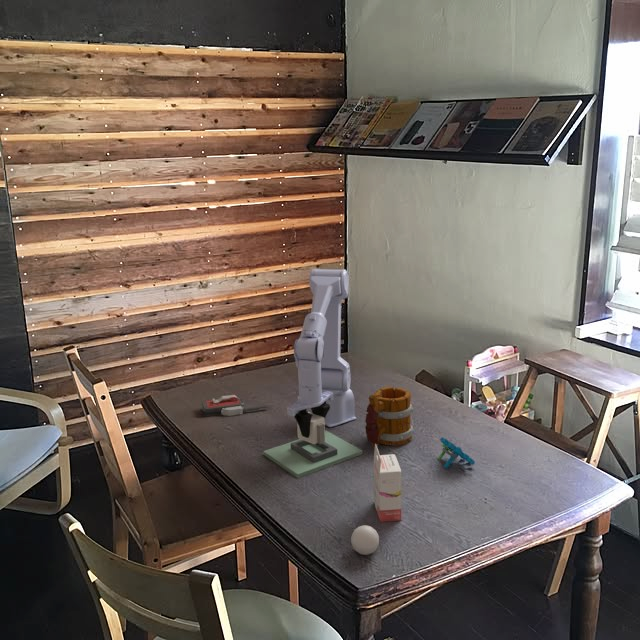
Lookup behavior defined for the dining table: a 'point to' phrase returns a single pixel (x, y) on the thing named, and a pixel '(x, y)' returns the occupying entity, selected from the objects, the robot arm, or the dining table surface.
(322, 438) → the plug
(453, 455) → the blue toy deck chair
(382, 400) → the mug
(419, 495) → the dining table surface
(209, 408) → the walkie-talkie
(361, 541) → the white egg
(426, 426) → the dining table surface
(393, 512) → the ink cartridge box
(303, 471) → the board
